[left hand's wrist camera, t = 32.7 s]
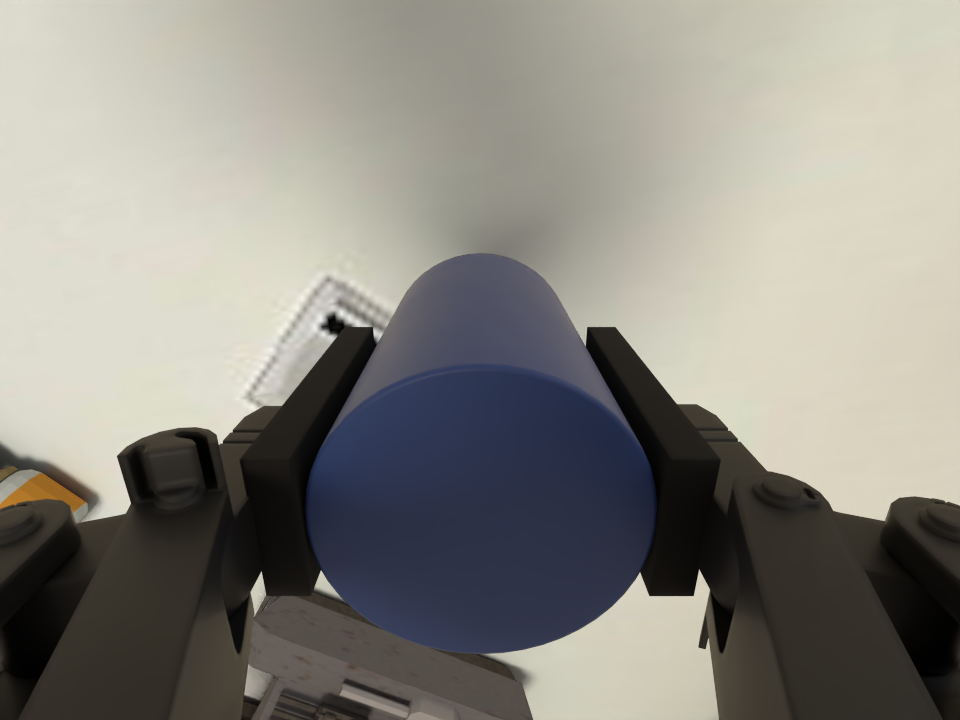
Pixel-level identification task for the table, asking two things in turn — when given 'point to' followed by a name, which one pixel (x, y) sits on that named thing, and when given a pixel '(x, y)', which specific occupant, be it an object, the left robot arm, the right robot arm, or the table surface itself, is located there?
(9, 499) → the spray gun
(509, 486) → the canister
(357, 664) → the toy
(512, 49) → the table surface
